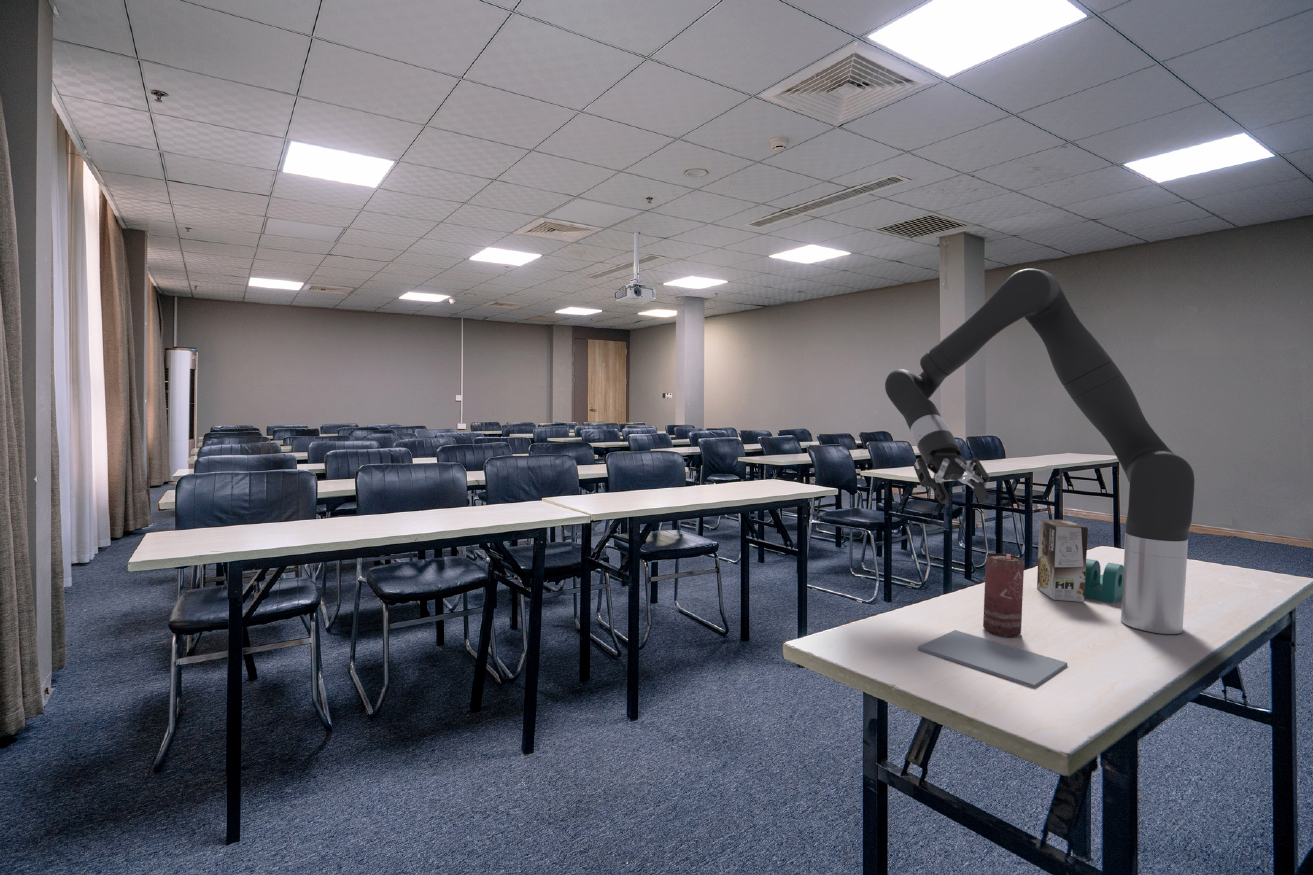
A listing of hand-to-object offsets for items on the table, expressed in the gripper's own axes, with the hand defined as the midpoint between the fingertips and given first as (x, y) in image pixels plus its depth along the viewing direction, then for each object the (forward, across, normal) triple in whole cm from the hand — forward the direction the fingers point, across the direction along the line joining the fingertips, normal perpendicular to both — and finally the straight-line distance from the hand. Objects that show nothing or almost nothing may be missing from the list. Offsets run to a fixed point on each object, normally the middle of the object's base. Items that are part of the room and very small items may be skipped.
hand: (965, 501), depth 125 cm
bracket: (+10, +42, +22) cm, 48 cm away
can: (+24, 0, +8) cm, 25 cm away
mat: (+31, -10, 0) cm, 33 cm away
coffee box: (+11, +29, +21) cm, 37 cm away
